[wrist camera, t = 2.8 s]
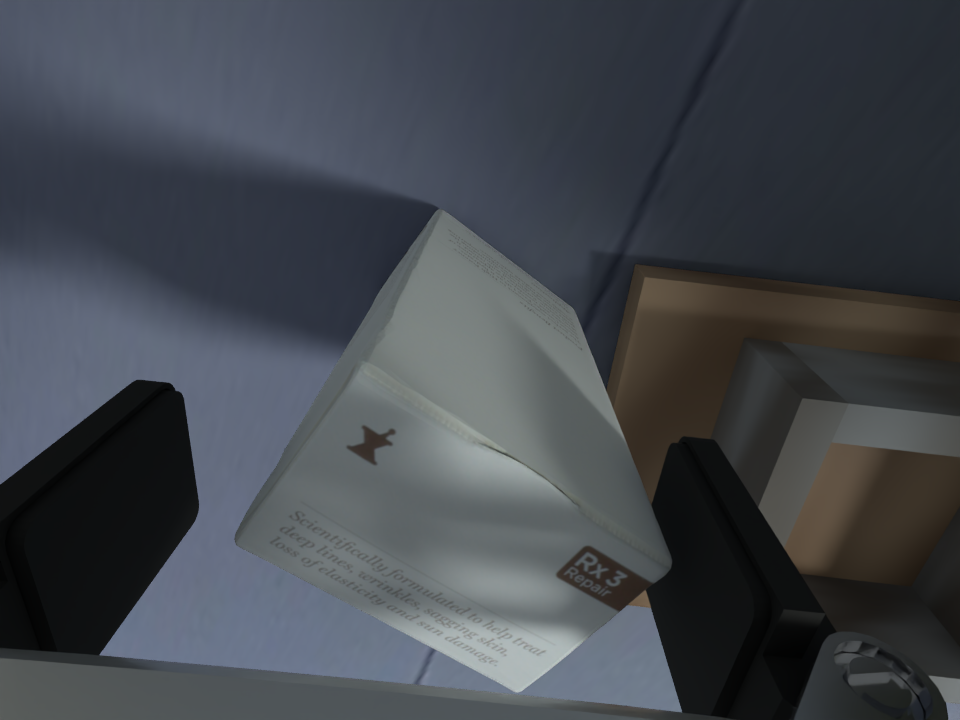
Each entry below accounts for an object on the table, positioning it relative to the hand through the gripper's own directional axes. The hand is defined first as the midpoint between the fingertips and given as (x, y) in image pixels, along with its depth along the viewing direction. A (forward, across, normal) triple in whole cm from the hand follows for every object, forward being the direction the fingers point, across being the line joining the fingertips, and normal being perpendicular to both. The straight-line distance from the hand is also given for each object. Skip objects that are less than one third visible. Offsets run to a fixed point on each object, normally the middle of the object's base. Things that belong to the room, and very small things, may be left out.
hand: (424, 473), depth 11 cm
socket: (+9, -15, +5) cm, 18 cm away
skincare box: (+10, -1, 0) cm, 10 cm away
